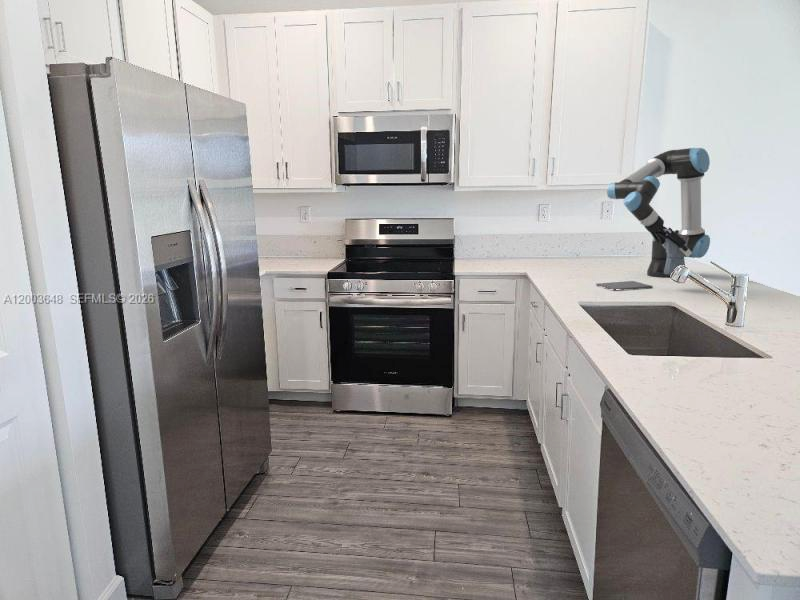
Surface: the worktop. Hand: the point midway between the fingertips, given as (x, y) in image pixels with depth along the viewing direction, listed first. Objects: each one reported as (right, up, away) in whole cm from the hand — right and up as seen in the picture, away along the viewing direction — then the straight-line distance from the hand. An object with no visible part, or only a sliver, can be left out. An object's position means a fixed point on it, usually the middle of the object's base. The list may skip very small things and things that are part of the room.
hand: (681, 253), depth 238 cm
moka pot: (-3, -9, +2) cm, 10 cm away
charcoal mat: (-20, -15, +14) cm, 29 cm away
